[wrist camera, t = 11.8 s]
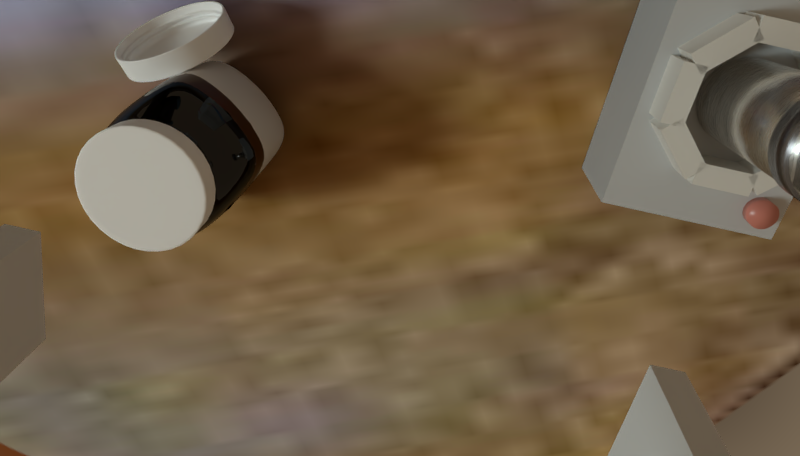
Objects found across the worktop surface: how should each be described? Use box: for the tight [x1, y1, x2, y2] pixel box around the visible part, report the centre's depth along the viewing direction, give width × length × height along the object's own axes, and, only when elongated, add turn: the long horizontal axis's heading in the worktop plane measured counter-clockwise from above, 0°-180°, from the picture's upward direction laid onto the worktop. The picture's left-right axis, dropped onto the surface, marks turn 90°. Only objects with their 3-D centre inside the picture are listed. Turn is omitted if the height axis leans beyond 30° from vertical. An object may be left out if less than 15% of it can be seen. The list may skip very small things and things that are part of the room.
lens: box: [696, 57, 800, 201], centre depth 28 cm, size 5×5×10 cm
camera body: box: [582, 0, 800, 239], centre depth 34 cm, size 14×10×8 cm
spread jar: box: [75, 1, 284, 251], centre depth 36 cm, size 12×11×12 cm
